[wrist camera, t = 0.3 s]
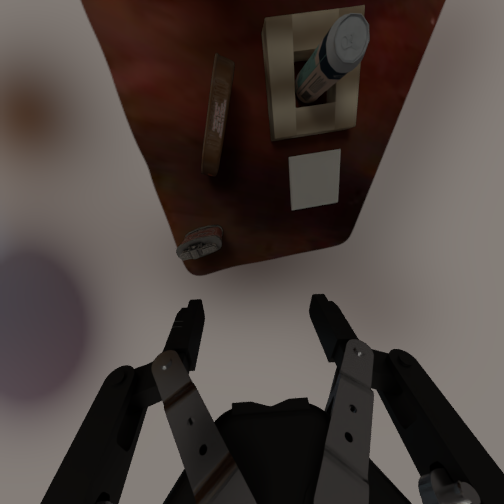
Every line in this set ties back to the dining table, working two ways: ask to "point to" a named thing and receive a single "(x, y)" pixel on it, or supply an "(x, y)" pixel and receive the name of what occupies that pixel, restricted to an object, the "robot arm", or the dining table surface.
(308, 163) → the pad
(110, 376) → the robot arm
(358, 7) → the socket block
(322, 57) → the beer can
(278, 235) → the dining table surface
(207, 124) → the tin
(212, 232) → the lighter
